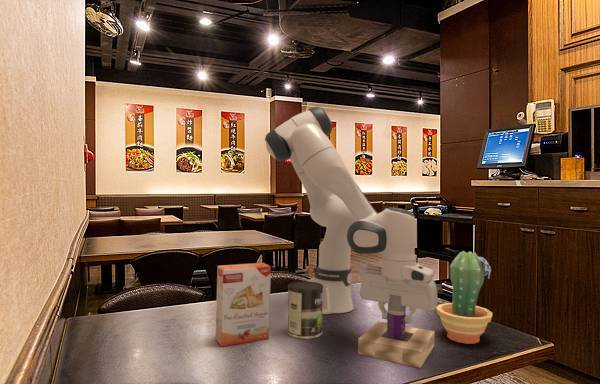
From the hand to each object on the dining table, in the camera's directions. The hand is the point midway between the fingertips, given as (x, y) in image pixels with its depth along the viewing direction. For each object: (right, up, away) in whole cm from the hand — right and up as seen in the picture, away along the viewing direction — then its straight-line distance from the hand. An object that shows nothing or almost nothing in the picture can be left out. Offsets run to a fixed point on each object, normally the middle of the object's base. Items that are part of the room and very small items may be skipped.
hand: (396, 320), depth 110 cm
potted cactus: (+22, -8, +10) cm, 25 cm away
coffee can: (-24, -7, +12) cm, 28 cm away
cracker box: (-42, -7, +5) cm, 43 cm away
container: (0, -8, 0) cm, 8 cm away
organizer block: (0, -8, 0) cm, 8 cm away
